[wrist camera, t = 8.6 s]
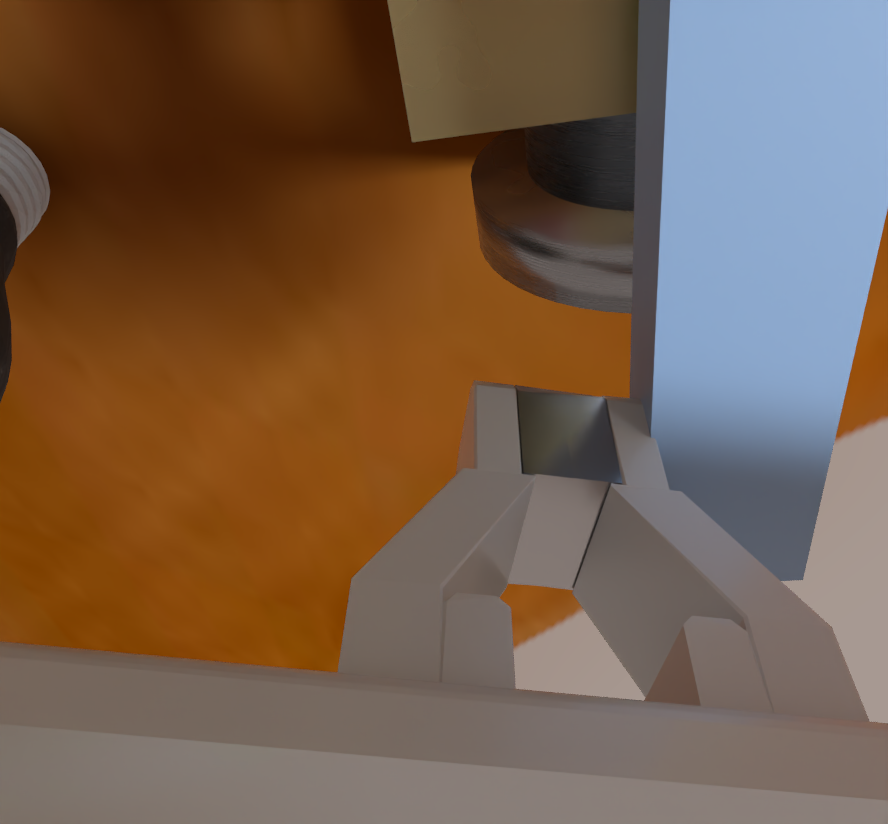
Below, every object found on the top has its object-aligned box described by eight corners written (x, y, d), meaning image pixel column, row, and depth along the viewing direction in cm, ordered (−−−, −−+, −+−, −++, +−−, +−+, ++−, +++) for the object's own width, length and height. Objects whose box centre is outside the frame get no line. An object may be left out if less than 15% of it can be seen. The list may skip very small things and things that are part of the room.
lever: (528, -647, 6) (546, -795, 4) (1101, -762, 5) (1363, -974, 4) (570, 494, 12) (583, 602, 11) (822, 478, 12) (873, 589, 10)
